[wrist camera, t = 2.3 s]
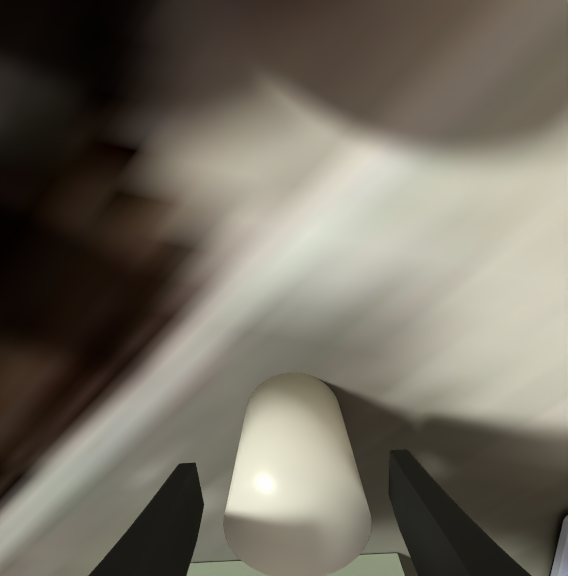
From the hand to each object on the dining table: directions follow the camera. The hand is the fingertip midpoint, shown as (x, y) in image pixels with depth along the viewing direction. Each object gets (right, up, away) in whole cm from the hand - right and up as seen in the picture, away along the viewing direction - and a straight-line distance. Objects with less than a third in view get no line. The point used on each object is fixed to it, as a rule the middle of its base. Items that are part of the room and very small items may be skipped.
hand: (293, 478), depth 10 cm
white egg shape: (0, +1, +3) cm, 3 cm away
